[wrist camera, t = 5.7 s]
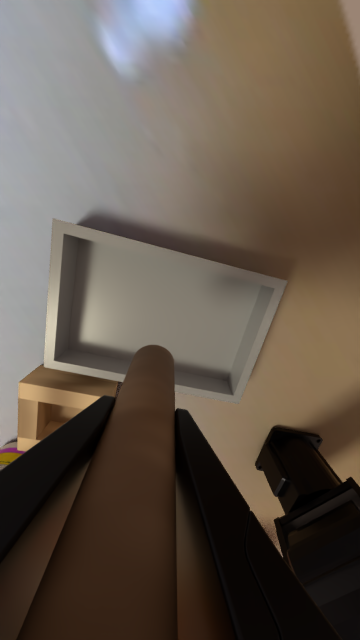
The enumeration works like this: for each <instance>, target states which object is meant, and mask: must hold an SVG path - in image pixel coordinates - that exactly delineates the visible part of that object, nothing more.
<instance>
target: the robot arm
mask: <svg viewBox="0 0 360 640" xmlns="http://www.w3.org/2000/svg"><path fill="white" fill-rule="evenodd" d="M114 403H115V397H113V396H108V395H103V396H102V397H100V398H99V399H98V400H96V401H95V402H93V403H92V404H91V405H89V406H88V407H87V408H85V409H84V410H82V411H81V412H80V413H78V414H77V415H76V416H74V417H73V418H71V419H70V420H69V421H67V422H66V423H65V424H63V425H62V426H60V427H59V428H58V429H56V430H55V431H54V432H52V433H51V434H49V435H48V436H47V437H45V438H44V439H43V440H41V441H40V442H38V443H37V444H36V445H34V446H33V447H32V448H30V449H29V450H27V451H26V452H25V453H23V454H22V455H21V456H19V457H18V458H16V459H15V460H14V461H12V462H11V463H10V464H8V465H7V466H5V467H4V468H3V469H1V470H0V640H16V639H17V637H18V634H19V632H20V629H21V627H22V625H23V622H24V620H25V617H26V615H27V613H28V610H29V608H30V605H31V603H32V601H33V598H34V596H35V593H36V591H37V588H38V586H39V584H40V581H41V579H42V576H43V574H44V572H45V569H46V567H47V564H48V562H49V560H50V557H51V555H52V552H53V550H54V548H55V545H56V543H57V540H58V538H59V535H60V533H61V531H62V528H63V526H64V523H65V521H66V519H67V516H68V514H69V511H70V509H71V507H72V504H73V502H74V499H75V497H76V494H77V492H78V490H79V487H80V485H81V482H82V480H83V478H84V475H85V473H86V470H87V468H88V466H89V463H90V461H91V458H92V456H93V453H94V451H95V449H96V446H97V444H98V441H99V439H100V437H101V434H102V432H103V430H104V427H105V425H106V422H107V420H108V418H109V415H110V413H111V410H112V408H113V405H114ZM322 441H323V440H322V438H321V437H320V436H319V435H315V434H309V433H304V432H298V431H293V430H287V429H282V428H273V429H272V430H271V432H270V434H269V436H268V438H267V440H266V442H265V444H264V446H263V449H262V451H261V453H260V455H259V457H258V459H257V461H256V463H255V466H256V469H257V470H260V471H264V474H265V476H266V478H267V481H268V483H269V485H270V487H271V490H272V492H273V494H274V496H275V497H278V499H279V501H280V503H281V506H282V508H283V510H284V512H285V515H284V516H282V517H280V518H279V517H278V518H276V519H274V523H275V526H276V533H277V536H278V540H279V544H280V547H281V551H282V555H283V557H282V556H281V554H280V553H279V551H278V550H277V548H276V547H275V545H274V544H273V542H272V541H271V539H270V538H269V536H268V535H267V533H266V532H265V530H264V529H263V527H262V526H261V524H260V523H259V521H258V520H257V518H256V516H255V515H254V513H253V512H252V511H250V507H249V506H248V504H247V503H246V501H245V499H244V498H243V496H242V495H241V493H240V492H239V490H238V488H237V487H236V485H235V484H234V482H233V481H232V479H231V477H230V476H229V474H228V473H227V471H226V470H225V468H224V467H223V465H222V463H221V462H220V460H219V459H218V457H217V456H216V454H215V452H214V451H213V449H212V448H211V446H210V445H209V443H208V442H207V440H206V438H205V437H204V435H203V434H202V432H201V431H200V429H199V427H198V426H197V424H196V423H195V421H194V420H193V418H192V416H191V415H190V413H189V412H188V411H187V410H185V409H179V408H177V409H176V411H175V460H176V543H177V626H178V640H360V487H359V486H358V484H357V483H356V482H355V481H354V480H353V478H352V477H349V478H348V479H346V480H347V481H345V482H342V481H341V480H340V478H339V477H338V476H337V475H336V473H335V472H334V471H333V469H332V468H331V467H330V465H329V464H328V463H327V461H326V460H325V459H324V458H323V456H322V455H321V454H320V452H319V451H318V448H319V446H320V445H321V443H322Z"/></svg>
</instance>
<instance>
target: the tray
mask: <svg viewBox="0 0 360 640" xmlns="http://www.w3.org/2000/svg"><path fill="white" fill-rule="evenodd" d="M287 282H288V281H286V280H282V279H278V278H275V277H271V276H267V275H263V274H260V273H256V272H252V271H248V270H245V269H241V268H237V267H233V266H230V265H226V264H222V263H218V262H215V261H211V260H207V259H203V258H200V257H196V256H192V255H188V254H185V253H181V252H177V251H173V250H170V249H166V248H162V247H158V246H154V245H151V244H147V243H143V242H139V241H136V240H132V239H128V238H124V237H121V236H117V235H113V234H109V233H106V232H102V231H98V230H94V229H91V228H87V227H83V226H79V225H76V224H72V223H68V222H64V221H61V220H57V219H53V223H52V239H51V255H50V271H49V288H48V304H47V320H46V336H45V353H44V367H46V368H51V369H56V370H62V371H67V372H72V373H77V374H83V375H88V376H93V377H98V378H104V379H109V380H114V381H120V382H123V381H124V379H125V376H126V374H127V371H128V369H129V367H130V364H131V362H132V359H133V357H134V355H135V353H136V352H137V351H138V350H139V349H140V348H142V347H144V346H147V345H159V346H162V347H164V348H166V349H167V350H168V351H169V352H170V353H171V354H172V356H173V358H174V377H175V392H177V393H183V394H188V395H193V396H198V397H204V398H209V399H214V400H219V401H225V402H230V403H235V404H239V402H240V400H241V397H242V395H243V392H244V390H245V387H246V385H247V382H248V380H249V377H250V375H251V372H252V370H253V367H254V365H255V362H256V360H257V357H258V355H259V352H260V350H261V347H262V345H263V342H264V340H265V337H266V335H267V332H268V330H269V327H270V325H271V322H272V320H273V317H274V315H275V312H276V309H277V307H278V304H279V302H280V299H281V297H282V294H283V292H284V289H285V287H286V284H287Z"/></svg>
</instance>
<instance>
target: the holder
mask: <svg viewBox="0 0 360 640" xmlns="http://www.w3.org/2000/svg"><path fill="white" fill-rule="evenodd" d="M117 386H118V381H114V380H109V379H104V378H98V377H93V376H88V375H83V374H77V373H72V372H67V371H62V370H56V369H51V368H46V367H44V365H40V366H39V367H37V368H36V369H35V370H34V371H32V372H31V373H30V374H29V375H27V376H26V377H25V378H24V379H22V380H21V381H20V382H19V396H18V440H17V450H19V451H27V450H29V449H30V448H32V447H33V446H34V445H36V444H37V443H38V442H40V441H41V440H43V439H44V438H45V437H47V436H48V435H49V434H51V433H52V432H54V431H55V430H56V429H58V428H59V427H60V426H62V425H63V424H65V423H66V422H67V421H69V420H70V419H71V418H73V417H74V416H76V415H77V414H78V413H80V412H81V411H82V410H84V409H85V408H87V407H88V406H89V405H91V404H92V403H93V402H95V401H96V400H98V399H99V398H100V397H102V396H103V395H108V396H113V397H115V396H116V391H117Z"/></svg>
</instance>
